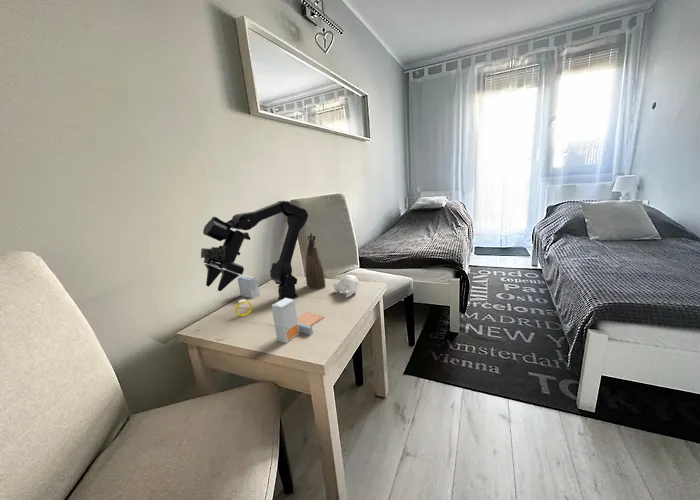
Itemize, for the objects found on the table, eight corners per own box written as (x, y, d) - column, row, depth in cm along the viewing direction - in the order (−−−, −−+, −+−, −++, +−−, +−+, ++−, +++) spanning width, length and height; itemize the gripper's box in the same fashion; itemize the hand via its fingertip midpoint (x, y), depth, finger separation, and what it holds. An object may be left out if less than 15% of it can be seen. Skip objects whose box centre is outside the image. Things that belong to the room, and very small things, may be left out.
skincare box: (286, 343, 88) (280, 307, 85) (276, 340, 90) (270, 305, 87) (300, 334, 93) (294, 299, 90) (290, 331, 95) (284, 297, 92)
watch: (239, 319, 108) (235, 305, 107) (236, 317, 110) (232, 303, 109) (254, 312, 112) (250, 298, 111) (251, 310, 114) (247, 296, 113)
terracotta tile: (308, 313, 107) (307, 312, 107) (324, 318, 102) (324, 316, 102) (291, 322, 101) (291, 321, 101) (307, 328, 96) (307, 326, 96)
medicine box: (260, 294, 130) (256, 276, 128) (252, 298, 127) (248, 279, 125) (248, 292, 135) (245, 274, 133) (240, 296, 131) (237, 278, 129)
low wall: (284, 323, 101) (283, 317, 100) (312, 333, 92) (311, 326, 92) (281, 325, 100) (280, 318, 99) (310, 335, 91) (309, 328, 91)
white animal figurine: (348, 278, 114) (327, 276, 122) (352, 298, 116) (331, 295, 124) (358, 273, 119) (337, 272, 127) (362, 293, 120) (340, 290, 128)
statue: (325, 282, 138) (318, 231, 131) (325, 288, 131) (318, 234, 124) (307, 284, 137) (299, 233, 130) (306, 291, 130) (298, 237, 123)
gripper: (199, 235, 104) (179, 276, 100) (222, 239, 91) (201, 286, 88) (227, 247, 112) (209, 286, 108) (252, 252, 99) (233, 296, 96)
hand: (213, 288), depth 100 cm, fingers open, 9 cm apart
